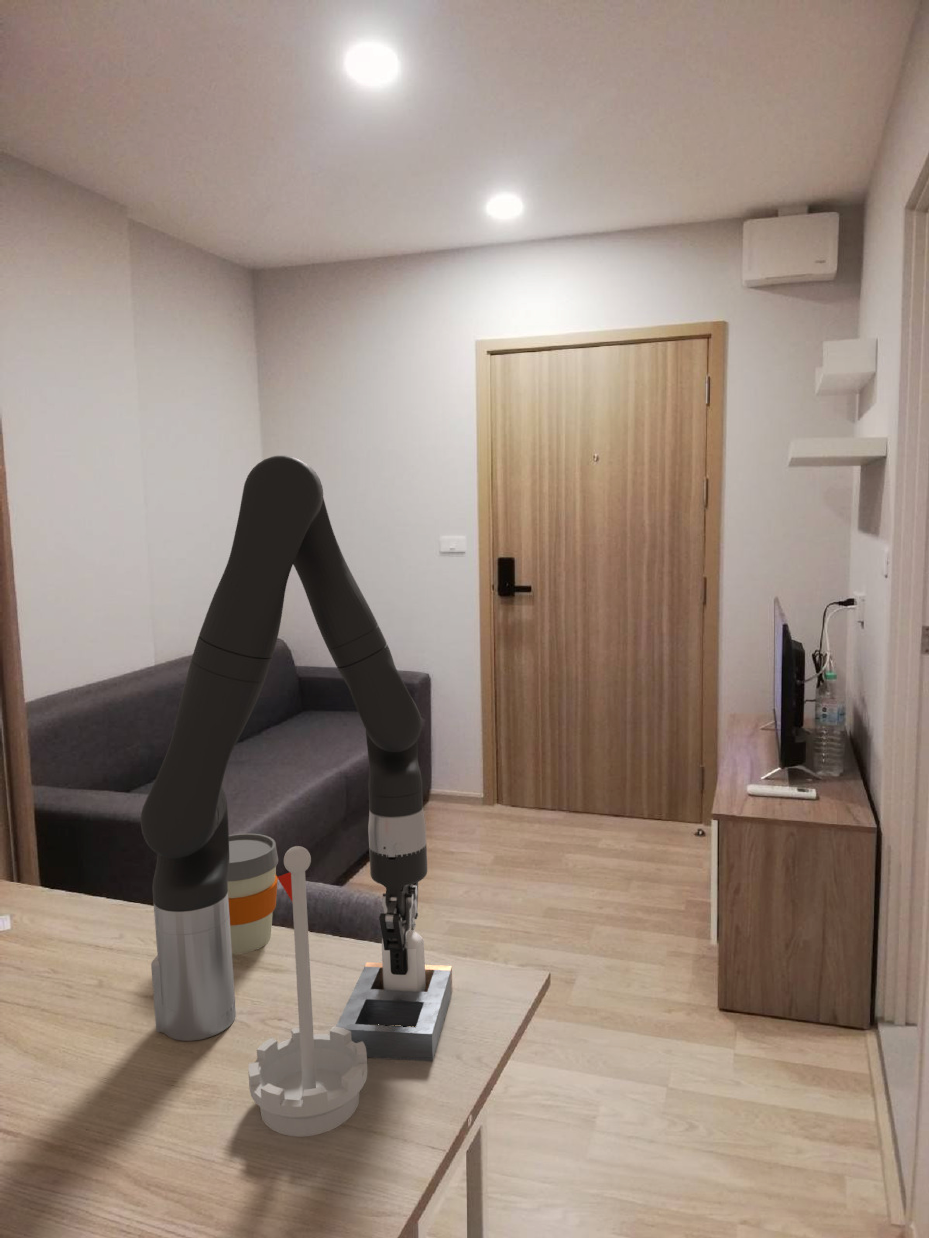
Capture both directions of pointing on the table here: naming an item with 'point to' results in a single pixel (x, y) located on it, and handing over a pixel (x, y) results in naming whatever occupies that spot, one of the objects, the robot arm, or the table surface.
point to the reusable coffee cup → (251, 890)
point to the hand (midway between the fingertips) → (402, 964)
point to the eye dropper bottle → (415, 966)
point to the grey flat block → (398, 1014)
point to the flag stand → (306, 1046)
